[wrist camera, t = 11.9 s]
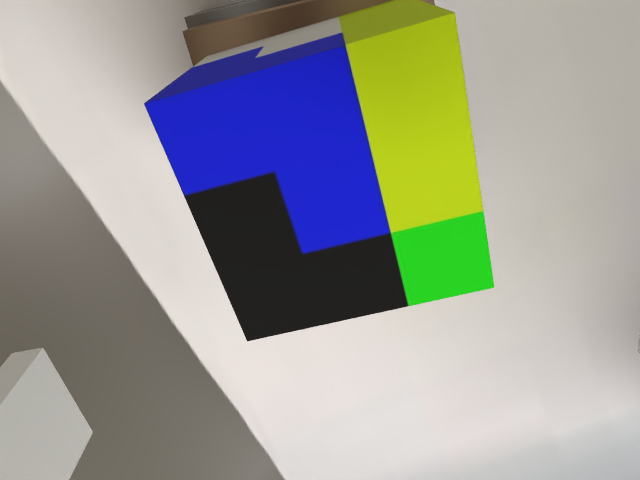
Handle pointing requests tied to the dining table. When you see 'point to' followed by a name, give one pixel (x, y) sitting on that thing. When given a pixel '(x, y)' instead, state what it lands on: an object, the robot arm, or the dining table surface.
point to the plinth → (260, 21)
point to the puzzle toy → (332, 168)
